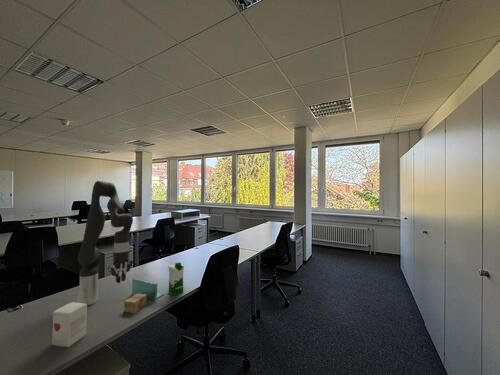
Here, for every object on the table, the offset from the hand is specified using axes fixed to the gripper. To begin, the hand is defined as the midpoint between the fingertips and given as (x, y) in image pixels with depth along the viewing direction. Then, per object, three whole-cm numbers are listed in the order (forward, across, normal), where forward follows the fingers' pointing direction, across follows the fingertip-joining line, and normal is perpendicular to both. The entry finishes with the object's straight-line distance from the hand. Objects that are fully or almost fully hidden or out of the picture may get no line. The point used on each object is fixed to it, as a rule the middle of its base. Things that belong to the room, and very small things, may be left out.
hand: (120, 281), depth 119 cm
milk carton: (+19, +35, -8) cm, 41 cm away
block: (+19, +10, 0) cm, 22 cm away
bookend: (+19, +25, +6) cm, 32 cm away
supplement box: (+19, -22, +4) cm, 30 cm away
